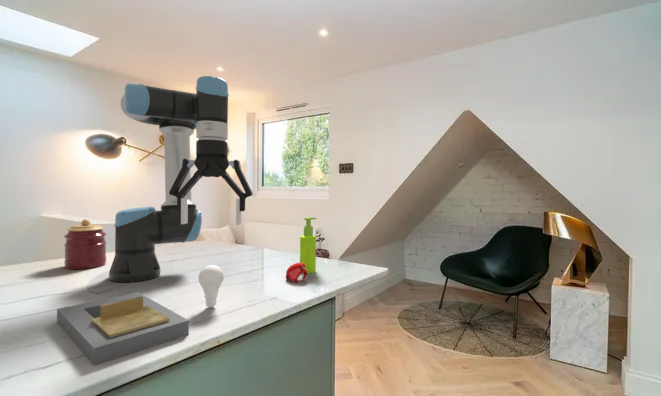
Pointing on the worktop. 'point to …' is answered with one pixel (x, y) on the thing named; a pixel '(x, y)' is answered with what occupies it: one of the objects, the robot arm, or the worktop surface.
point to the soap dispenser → (308, 247)
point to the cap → (296, 271)
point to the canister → (85, 246)
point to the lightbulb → (211, 283)
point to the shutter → (127, 317)
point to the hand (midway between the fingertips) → (211, 224)
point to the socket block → (105, 348)
